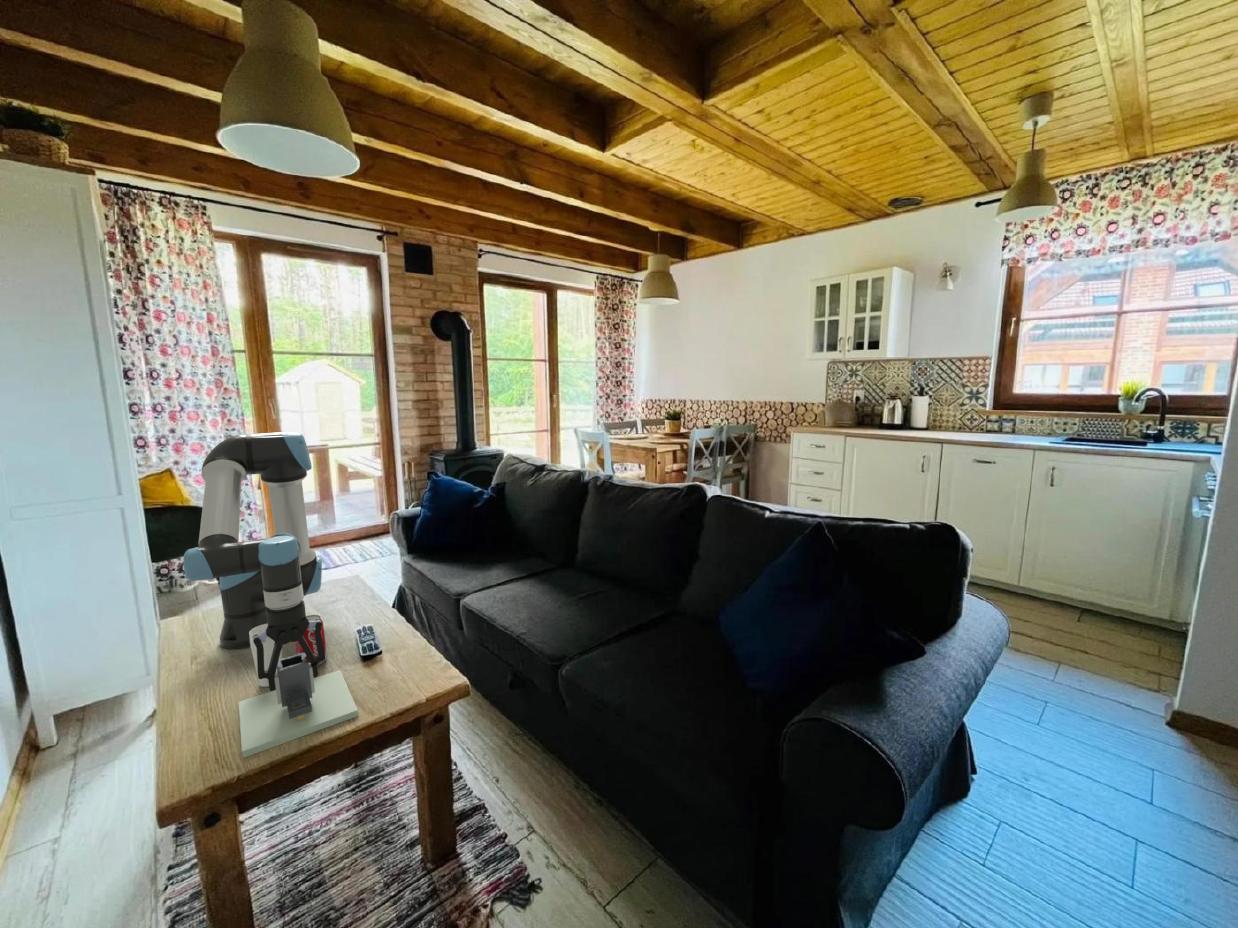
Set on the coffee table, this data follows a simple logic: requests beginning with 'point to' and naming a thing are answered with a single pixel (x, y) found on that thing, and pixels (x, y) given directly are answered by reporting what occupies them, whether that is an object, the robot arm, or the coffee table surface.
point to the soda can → (312, 639)
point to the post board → (273, 727)
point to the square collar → (295, 684)
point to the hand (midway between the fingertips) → (296, 695)
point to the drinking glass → (268, 651)
